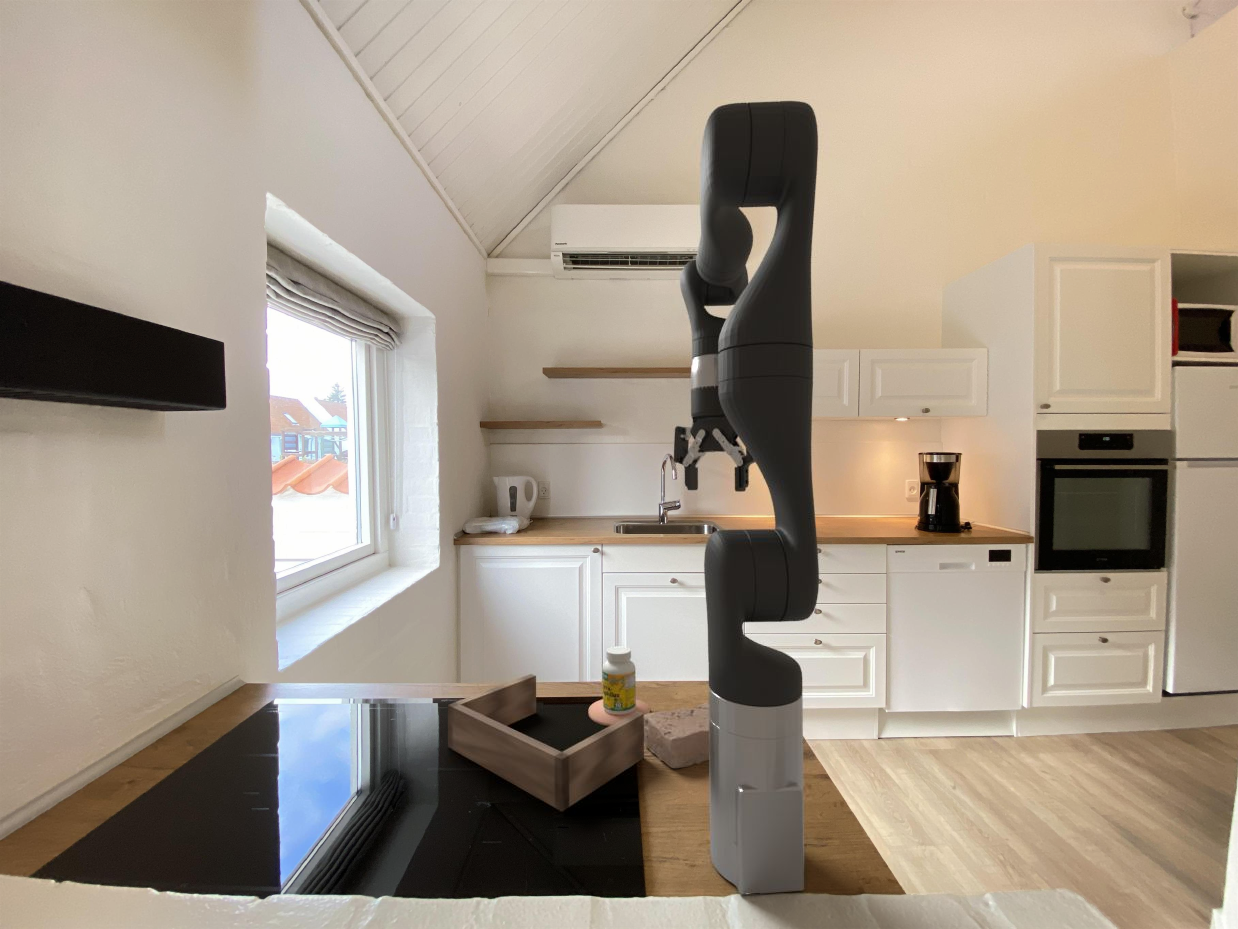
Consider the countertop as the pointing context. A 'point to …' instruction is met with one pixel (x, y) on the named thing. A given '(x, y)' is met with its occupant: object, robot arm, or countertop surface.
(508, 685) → the wooden frame
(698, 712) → the brick
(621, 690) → the supplement bottle
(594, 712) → the pink round coaster
